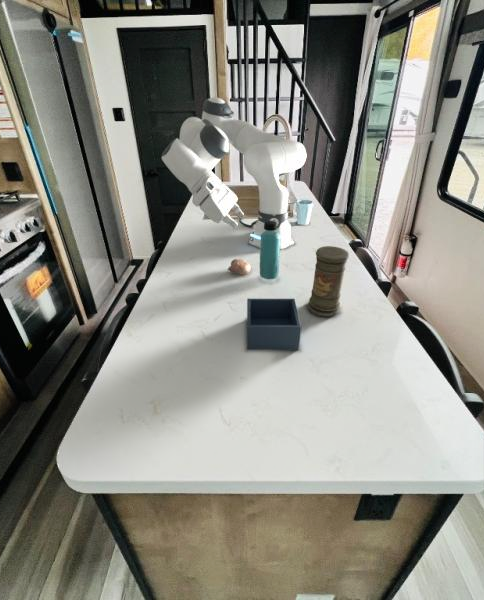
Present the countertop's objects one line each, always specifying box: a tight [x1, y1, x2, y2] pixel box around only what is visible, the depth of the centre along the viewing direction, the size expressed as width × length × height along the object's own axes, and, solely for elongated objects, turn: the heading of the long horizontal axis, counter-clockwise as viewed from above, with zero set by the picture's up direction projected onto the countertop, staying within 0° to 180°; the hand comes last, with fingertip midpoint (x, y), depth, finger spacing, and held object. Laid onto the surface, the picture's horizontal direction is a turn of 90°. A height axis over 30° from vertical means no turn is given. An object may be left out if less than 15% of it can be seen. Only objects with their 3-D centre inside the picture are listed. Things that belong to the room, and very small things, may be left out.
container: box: [307, 245, 350, 318], centre depth 89 cm, size 9×9×18 cm
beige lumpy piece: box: [227, 258, 252, 276], centre depth 112 cm, size 8×6×8 cm
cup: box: [296, 199, 314, 226], centre depth 154 cm, size 8×8×10 cm
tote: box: [246, 298, 302, 351], centre depth 82 cm, size 13×13×7 cm
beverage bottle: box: [259, 221, 281, 280], centre depth 104 cm, size 6×7×20 cm
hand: (239, 221), depth 100 cm, fingers open, 8 cm apart
